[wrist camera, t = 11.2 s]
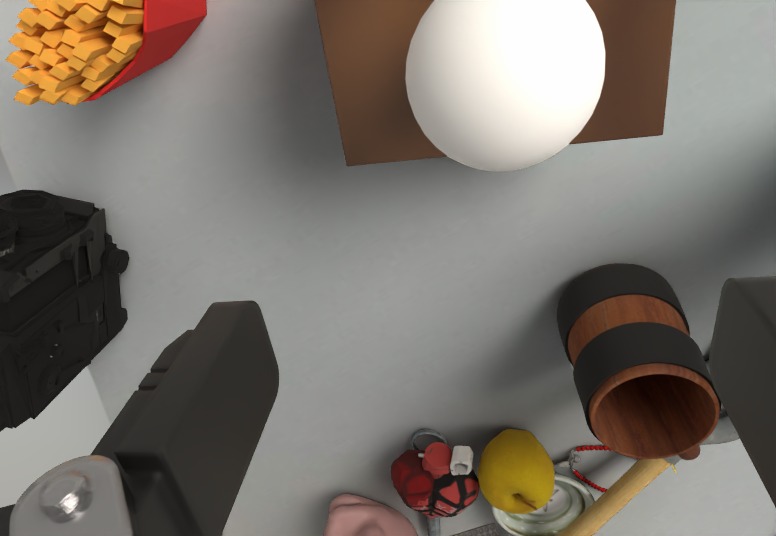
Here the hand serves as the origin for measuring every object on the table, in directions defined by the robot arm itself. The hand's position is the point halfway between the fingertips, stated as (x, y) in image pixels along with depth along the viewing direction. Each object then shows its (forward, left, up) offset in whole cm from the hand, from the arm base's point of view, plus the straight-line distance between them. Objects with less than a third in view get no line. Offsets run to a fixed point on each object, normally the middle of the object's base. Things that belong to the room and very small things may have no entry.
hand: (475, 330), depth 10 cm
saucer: (-4, +43, -30) cm, 53 cm away
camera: (+33, +13, -30) cm, 47 cm away
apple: (-1, +35, -30) cm, 46 cm away
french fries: (+19, -4, -30) cm, 36 cm away
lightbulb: (-1, -2, -19) cm, 19 cm away
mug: (-10, +22, -30) cm, 39 cm away
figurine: (+14, +46, -30) cm, 57 cm away
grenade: (+6, +42, -26) cm, 50 cm away
